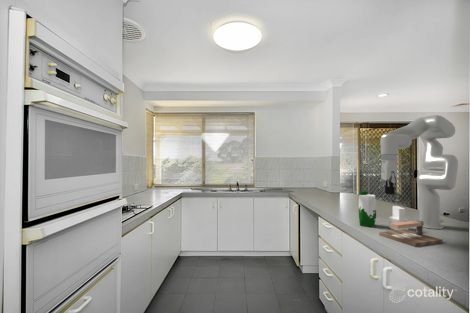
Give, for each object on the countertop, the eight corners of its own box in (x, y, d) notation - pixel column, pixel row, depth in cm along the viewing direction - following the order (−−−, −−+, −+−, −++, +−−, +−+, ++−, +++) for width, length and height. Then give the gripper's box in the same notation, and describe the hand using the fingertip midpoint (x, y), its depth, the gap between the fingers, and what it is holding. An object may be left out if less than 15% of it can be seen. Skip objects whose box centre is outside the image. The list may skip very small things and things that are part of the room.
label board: (404, 232, 131) (404, 221, 131) (442, 242, 114) (442, 230, 114) (379, 235, 125) (379, 224, 125) (415, 246, 108) (415, 233, 108)
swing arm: (417, 223, 125) (417, 220, 125) (425, 225, 121) (425, 222, 121) (389, 226, 118) (389, 222, 118) (397, 228, 115) (397, 224, 115)
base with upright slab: (411, 231, 133) (411, 209, 133) (393, 230, 134) (393, 208, 135) (403, 227, 141) (403, 206, 142) (386, 226, 143) (386, 205, 144)
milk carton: (359, 222, 151) (359, 190, 151) (376, 224, 146) (376, 191, 147) (358, 225, 143) (357, 191, 144) (375, 228, 139) (375, 192, 139)
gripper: (376, 158, 135) (377, 191, 135) (386, 157, 120) (386, 195, 119) (392, 158, 133) (392, 192, 133) (403, 158, 118) (404, 196, 117)
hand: (389, 193), depth 126 cm, fingers closed
